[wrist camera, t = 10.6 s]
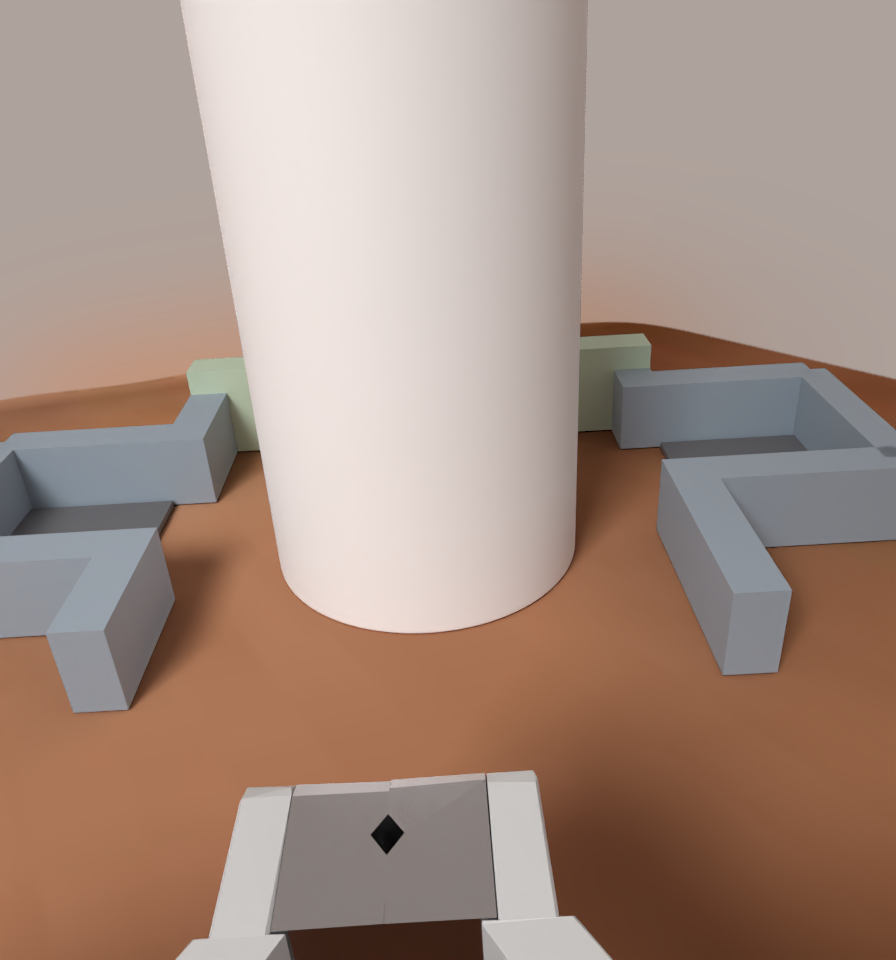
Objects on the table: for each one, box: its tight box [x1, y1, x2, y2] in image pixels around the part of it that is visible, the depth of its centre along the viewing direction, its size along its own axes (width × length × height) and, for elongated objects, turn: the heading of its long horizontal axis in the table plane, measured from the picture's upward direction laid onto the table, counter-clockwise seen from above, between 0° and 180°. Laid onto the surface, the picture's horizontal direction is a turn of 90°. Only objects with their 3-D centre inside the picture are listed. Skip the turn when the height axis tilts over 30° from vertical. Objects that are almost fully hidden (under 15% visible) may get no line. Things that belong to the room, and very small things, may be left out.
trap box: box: [0, 333, 896, 713], centre depth 24 cm, size 26×14×3 cm, turn 92°
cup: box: [180, 0, 588, 633], centre depth 20 cm, size 8×8×16 cm
